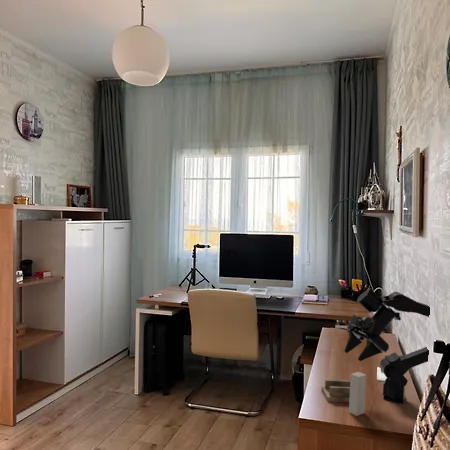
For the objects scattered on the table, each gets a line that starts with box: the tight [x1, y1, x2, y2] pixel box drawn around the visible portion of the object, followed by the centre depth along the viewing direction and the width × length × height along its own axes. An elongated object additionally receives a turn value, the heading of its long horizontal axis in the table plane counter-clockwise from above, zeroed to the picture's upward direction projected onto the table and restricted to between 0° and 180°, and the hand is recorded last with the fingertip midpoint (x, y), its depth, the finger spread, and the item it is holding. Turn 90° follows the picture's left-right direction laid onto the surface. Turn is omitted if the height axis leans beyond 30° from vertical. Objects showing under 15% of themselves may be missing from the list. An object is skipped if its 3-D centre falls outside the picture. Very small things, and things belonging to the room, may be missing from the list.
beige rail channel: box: [320, 378, 350, 403], centre depth 151 cm, size 11×9×4 cm
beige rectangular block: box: [348, 371, 367, 417], centre depth 139 cm, size 4×3×12 cm
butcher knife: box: [376, 366, 387, 382], centre depth 174 cm, size 5×15×1 cm, turn 159°
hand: (352, 356), depth 149 cm, fingers open, 9 cm apart
